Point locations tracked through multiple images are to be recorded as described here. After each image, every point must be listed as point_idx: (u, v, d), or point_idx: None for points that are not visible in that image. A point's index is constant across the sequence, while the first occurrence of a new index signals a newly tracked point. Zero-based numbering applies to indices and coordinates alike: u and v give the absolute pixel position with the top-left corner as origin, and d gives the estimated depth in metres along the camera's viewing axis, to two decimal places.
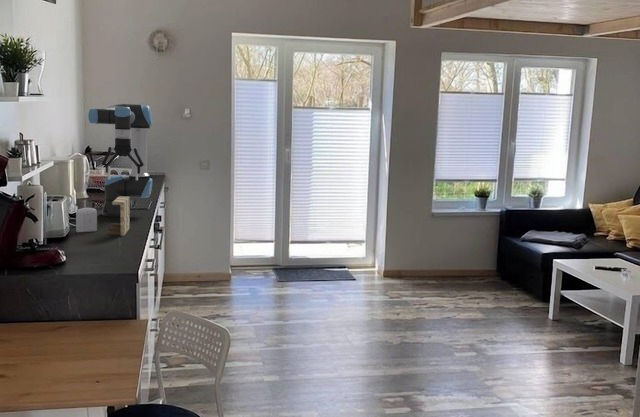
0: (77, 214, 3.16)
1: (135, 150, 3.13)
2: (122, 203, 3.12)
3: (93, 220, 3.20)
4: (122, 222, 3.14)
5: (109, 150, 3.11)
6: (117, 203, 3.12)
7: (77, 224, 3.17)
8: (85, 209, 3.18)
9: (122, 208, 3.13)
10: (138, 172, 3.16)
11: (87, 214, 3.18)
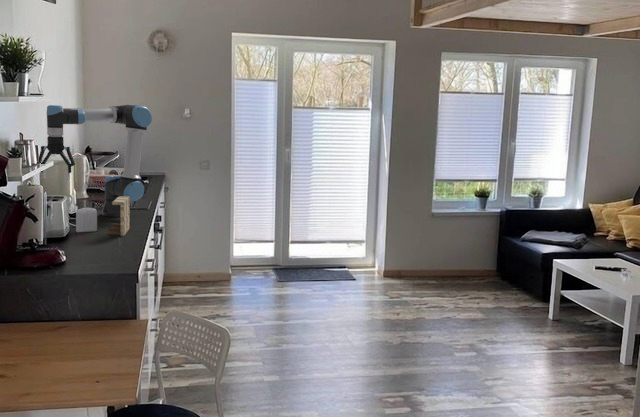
0: (77, 214, 3.16)
1: (67, 149, 3.17)
2: (122, 203, 3.12)
3: (93, 220, 3.20)
4: (122, 222, 3.14)
5: (42, 149, 3.16)
6: (117, 203, 3.12)
7: (77, 224, 3.17)
8: (85, 209, 3.18)
9: (122, 208, 3.13)
10: (69, 171, 3.20)
11: (87, 214, 3.18)
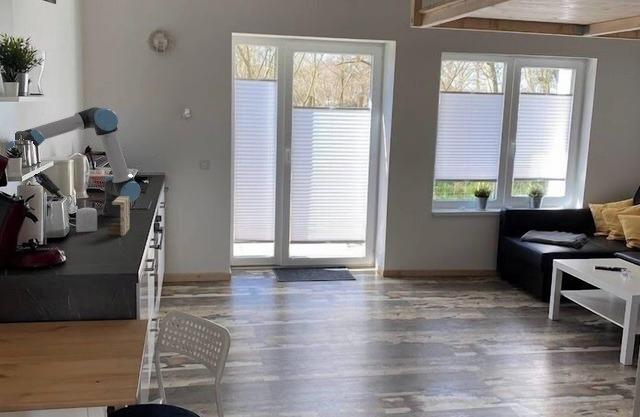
0: (77, 214, 3.16)
1: None
2: (122, 203, 3.12)
3: (93, 220, 3.20)
4: (122, 222, 3.14)
5: None
6: (117, 203, 3.12)
7: (77, 224, 3.17)
8: (85, 209, 3.18)
9: (122, 208, 3.13)
10: None
11: (87, 214, 3.18)
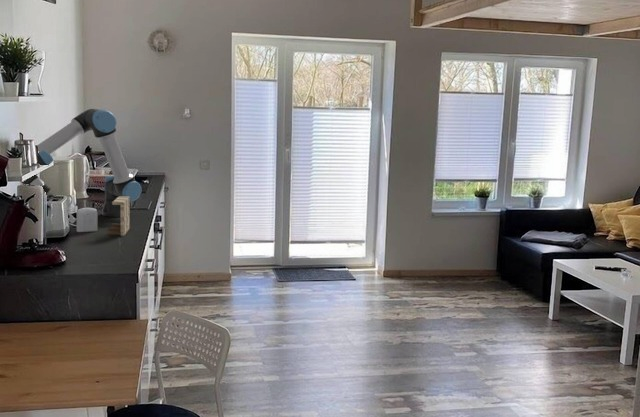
0: (77, 214, 3.16)
1: None
2: (122, 203, 3.12)
3: (93, 220, 3.20)
4: (122, 222, 3.14)
5: None
6: (117, 203, 3.12)
7: (77, 224, 3.17)
8: (85, 209, 3.18)
9: (122, 208, 3.13)
10: None
11: (88, 214, 3.18)
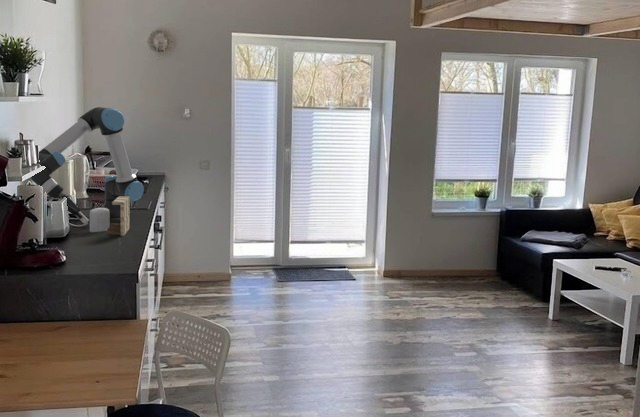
0: (91, 214, 3.17)
1: None
2: (122, 203, 3.12)
3: (106, 220, 3.22)
4: (122, 222, 3.14)
5: None
6: (117, 203, 3.12)
7: (91, 224, 3.18)
8: (99, 209, 3.19)
9: (122, 208, 3.13)
10: None
11: (101, 214, 3.19)
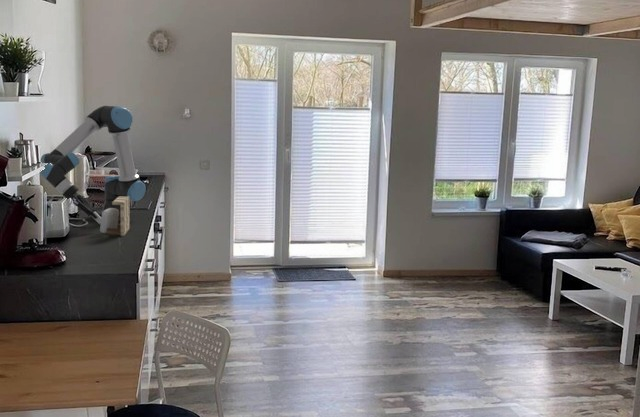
0: (106, 215, 3.16)
1: None
2: (122, 203, 3.12)
3: (116, 220, 3.23)
4: (122, 222, 3.14)
5: None
6: (117, 203, 3.12)
7: (104, 225, 3.17)
8: (112, 210, 3.19)
9: (122, 208, 3.13)
10: None
11: (113, 214, 3.20)
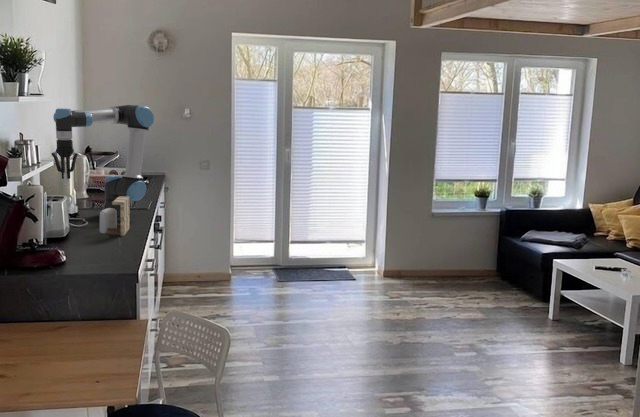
0: (104, 215, 3.16)
1: (75, 155, 3.17)
2: (122, 203, 3.12)
3: (115, 220, 3.24)
4: (122, 222, 3.14)
5: (54, 155, 3.16)
6: (117, 203, 3.12)
7: (104, 225, 3.17)
8: (109, 209, 3.19)
9: (122, 208, 3.13)
10: (68, 177, 3.19)
11: (111, 214, 3.21)
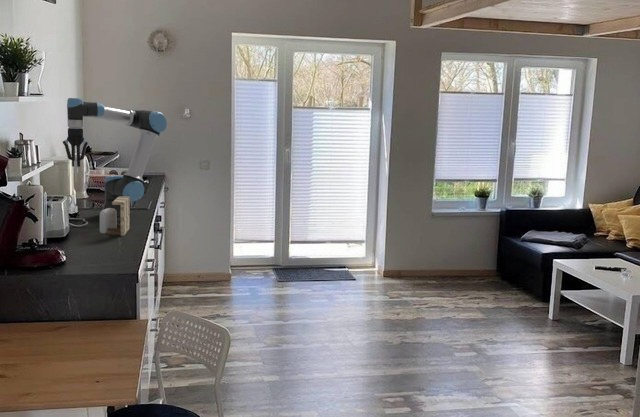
0: (104, 215, 3.16)
1: (85, 144, 3.26)
2: (122, 203, 3.12)
3: (115, 220, 3.24)
4: (122, 222, 3.14)
5: (65, 143, 3.24)
6: (117, 203, 3.12)
7: (104, 225, 3.17)
8: (109, 209, 3.19)
9: (122, 208, 3.13)
10: (78, 165, 3.28)
11: (111, 214, 3.21)
